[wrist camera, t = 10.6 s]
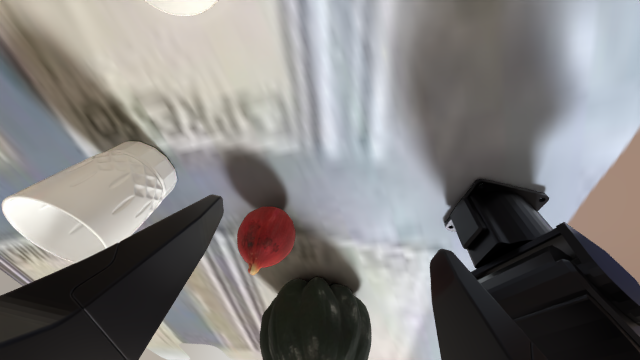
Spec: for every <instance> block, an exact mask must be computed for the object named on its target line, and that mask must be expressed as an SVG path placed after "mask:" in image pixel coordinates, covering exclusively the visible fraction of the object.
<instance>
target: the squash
mask: <svg viewBox="0 0 640 360" xmlns="http://www.w3.org/2000/svg"><path fill="white" fill-rule="evenodd" d="M370 347H371V324H370V318H369V314H368V311H367V308H366V306H365V305H364V304H363V303H362V301H361V300H359V299H358V298H357V297H355V296H354V295H353V293H352V292H351V290H350V289H349V288H348V287H346V286H343V285H340V284H333V285H331V286H330V287H329V285H328V284H327V282H326V281H325V280H324V279H323V278H320V277H314V278H313V279H311V280H310V281H309V282H308V283H307V282H306V281H304V280H301V279H296V280H292V281H290V282H288V283H287V284H286V285H285V286H284V287H283V288H282V289H281V291H280V292H279V293H278V295H277V297H276V298H275V299H274V300H273V301H272V303H271V305H270V306H269V307H268V309H267V310H266V311H265V312H264V314H263V316H262V323H261V331H260V348H261V354H262V357H263V360H368V356H369V352H370Z"/></svg>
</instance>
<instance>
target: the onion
mask: <svg viewBox="0 0 640 360" xmlns="http://www.w3.org/2000/svg"><path fill="white" fill-rule="evenodd" d="M237 241H238V249H239V252H240V254H241V256H242V257H243V259H244V260H245V261H246V262H247V263H248V265H249V269H248V272H249V273H250V274H251V275H254V274H256V273H258V271H259V269H260V268H264V267H269V266H272V265H275V264H277V263H279V262H280V261H281V260H283V259H284V258H285V257H286V256H287V255H288V254H289V253H290V252H291V250H292V248H293V245H294V241H295V228H294V225H293V221H292V220H291V218H290V217H289V216H288V215H287V213H286V212H284V211H283V210H281V209H279V208H276V207H260V208H258V209H256V210H254V211H252V212H250V213H249V214H248V215H247V216H246V217H245V218H244V220H243V222H242V223H241V225H240V227H239V229H238V234H237Z"/></svg>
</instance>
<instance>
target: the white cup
mask: <svg viewBox="0 0 640 360" xmlns="http://www.w3.org/2000/svg"><path fill="white" fill-rule="evenodd" d="M176 182H177V176H176V172H175V169H174V167H173V166H172V164H171V163H170V161H169V160H168V159H167V157H166V156H164V155H163V154H162V153H161V152H159V151H158V150H157V149H155V148H154V147H152V146H149V145H147V144H144V143H142V142H136V141H126V142H124V143H122V144H120V145H118V146H116V147H114V148H112V149H110V150H108V151H106V152H104V153H101V154H97V155H95V156H93V157H90V158H88V159H86V160H84V161H82V162H80V163H78V164H75V165H73V166H70V167H68V168H66V169H64V170H62V171H60V172H58V173H56V174H54V175H52V176H50V177H48V178H46V179H44V180H42V181H40V182H38V183H36V184H34V185H32V186H30V187H27V188H25V189H23V190H21V191H19V192H17V193H15V194H13V195H11V196H9V197H7V198H5V199H4V200H3V202H2V211H3V213H4V215H5V217H6V219H7V220H8V221H9V223H10V224H11V225H12V226H13V227H14V228H15V229H16V230H17V231H18V232H19V233H20V234H21V235H23V236H24V237H25V238H27V239H28V240H29V241H31V242H32V243H34V244H35V245H37V246H38V247H40V248H42V249H43V250H45V251H47V252H49V253H51V254H53V255H55V256H57V257H60V258H62V259H65V260H67V261H70V262H73V263H77V262H79V261H81V260H83V259H86V258H88V257H90V256H92V255H94V254H96V253H98V252H100V251H102V250H104V249H106V248H108V247H110V246H112V245H114V244H116V243H120V241H122V240H124V239H126V238H128V237H129V236H131V235H132V234H133V233H134V232H135V231H136V230H137V229H138V228H139V227H140V226H141V225H142V224H143V223H144V222H145V220H146V219H147V218H148V217H149V216H150V214H151V213H152V212H153V211H154V210H155V209H156V208H157V207H158V206H159V205H160V203H161V202H162V200H163V199H164V198H165V197H166V196H167V195H168V194H169V193H170V192H171V191H172V190H173V189H174V187H175V184H176Z"/></svg>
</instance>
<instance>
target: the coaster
mask: <svg viewBox="0 0 640 360" xmlns="http://www.w3.org/2000/svg"><path fill="white" fill-rule="evenodd" d="M145 1H146V2H147V3H149V4H150V5H152V6H153V7H155V8H157V9H159V10H161V11H163V12H166V13H169V14H172V15H178V16H192V15H197V14H200V13H203V12H205V11H207V10H208V9H210V8H211V7H212V6H214V5H215V4H216V3H217V2H218V0H145Z"/></svg>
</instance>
